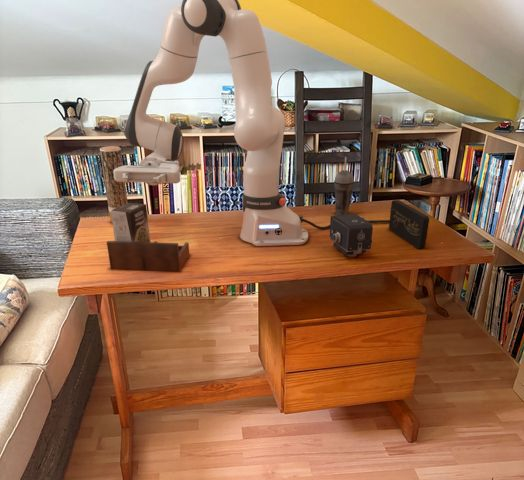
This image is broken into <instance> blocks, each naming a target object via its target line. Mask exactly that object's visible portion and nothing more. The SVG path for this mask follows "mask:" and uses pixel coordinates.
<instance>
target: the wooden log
mask: <svg viewBox="0 0 524 480" xmlns="http://www.w3.org/2000/svg"><path fill="white" fill-rule="evenodd" d="M99 154H100V160H101V167H102V175H103V180H104V186H105V194H106V200H107V207H108V214H109V221H110V222H111V223H112V224H113V222H112V215H111V210H113V209H115V208H118V207H120V206H122V205H124V204H127V203H129V202H128V195H127V186H126V183H123V182H117V181H115V179H114V173H113V171H114V169H116V168H118V167H120V166H124V164H123V163H124V162H123V156H122V155H123V154H122V148H121V147H120V146H116V145H109V146H108V145H107V146H102V147H99Z"/></svg>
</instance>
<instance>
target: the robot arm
mask: <svg viewBox="0 0 524 480" xmlns="http://www.w3.org/2000/svg"><path fill="white" fill-rule="evenodd" d="M205 36H208V37H215V38H216V37H220V38H221V39H222V40H223V42H224V45H225V47H226V51H227V56H228V62H229V67H230V73H231V78H232V83H233V84H232V85H233V90H234V107H235V108H234V112H235V124H234V128H233V136H234V139H235V142H236V143H237V145H238V146H239V147H240V148H241V149H243V150H245V151H246V157H245V162H244V164H243V193H242V196H241V197H242V198H241V199H242V200H241V202H242V211H243V217H242V224H241V230H240V233H239V238H240V239H241V240H242V241H244V242H247V243H250V244H252V245H254V246H256V247H275V246H277V247H279V246H301V245H305V243H308V241H309V232H308V231H307V230H306V229H304V228H303V225H302V224H303V223H306V224H308V225H310V226H312V227H314V228H315V229H318V230H328V229H330V224H328V225H326V226H319V225H317V224H315V223H313V222H312V221H311V220H307V219H305V218H304V217H303V216H304V215H302V214H297V213H295V212H294V211H293V210H291V209H290V208H289V207H288V206H286V202H287V199H286V196H285V193H283V194H282V193H281V192H280V164H281V158H282V151H283V144H284V135H285V130H286V124H287V123H286V118H285V117H286V116H285V115H284V114H283V112H282V111H281V110H280V109H279V108H277V107H274V106H272V87H273V86H272V85H273V79H272V72H271V67H270V66H271V65H270V61H269V60H270V59H269V54H268V48H267V43H266V38H265V35H264V32H263V28H262V25H261V21H260V19H259V17H258V15H257V14H256V13H255V12H254V11H252V10H250V9H245V8H244V9H242V7H241V4H240V1H239V0H182V1H181V6H176V7H174V8H172V9H170V11H169V12H168V14H167V17H166V20H165V23H164V27H163V31H162V34H161V41H160V45H159V50H158V54H157V55H156V57H155V58H154V59H153V60H150V61H148V62H147V63H146V65H145V67H144V69H143V72H142V74H141V77H140V81H139V83H138V85H137V86H138V87H137V90H136V93H135V97H134V98H133V103H132V106H131V109H130V111H129V115H128V118H127V120H126V122H125V125H124V128H123V129H124V131H123V133H124V137H125V138H126V140H127V141H128V143H129V144H130V145H131V146H133V147H139V148H143V149H146V150H149V151H152V152H151V153H150V154H149V155H147V156H145V157H144V158H143V159H141V160H140V162H139V164H138V165H132V164H131V165H127V164H125V165H123V166H120V167H118V168H116V169H114V171H113V173H114V179H115V181H117V182H123V183H125V184H129V183H145V184H147V185H149V186H159V185H162V184H179V183H180V182H181V168H180V162H179V158H180V157H181V154H182V151H183V147H184V135H183V133H182V130H181V129H180V127H179V125H176V124H174V123H171V122H167V121H164V120H161V119H157V118H154V117H151V116H149V115H148V114H147V109H148V107H149V104H150V100H151V97H152V94H153V92H154V89H155V88H156V87H159V86H167V85H177V84H181V83H183V82H186V81H188V80H189V79H190V78H191V77H192V76H193V75H194V73H195V70H196V65H197V61H198V56H199V52H200V51H199V50H200V45H201V41H202V39H203V38H204V37H205ZM365 220H366V219H365ZM366 221H368V222H370V223H371V224H383V223H384V224H389V221H390V219H377V220H375V219H374V220H373V219H370V220H369V219H368V220H366Z"/></svg>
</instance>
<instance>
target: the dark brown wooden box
mask: <svg viewBox="0 0 524 480" xmlns="http://www.w3.org/2000/svg"><path fill="white" fill-rule="evenodd" d="M106 247H107V254H108V260H109V266H110V270H120V271H121V270H125V271H128V270H129V271H150V272H151V271H152V272H154V271H155V272H175V273H176V272H180V271H181V270H182V269H183V266H184V265H185V263H186V262H187V260H188V258H189V257H190V243H189V242H187V241H186V242H184V244H183V245H181V244H179V243H178V242H158V241H155V240H154V241H150V242H126V241H115V240H108V241H106Z"/></svg>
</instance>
